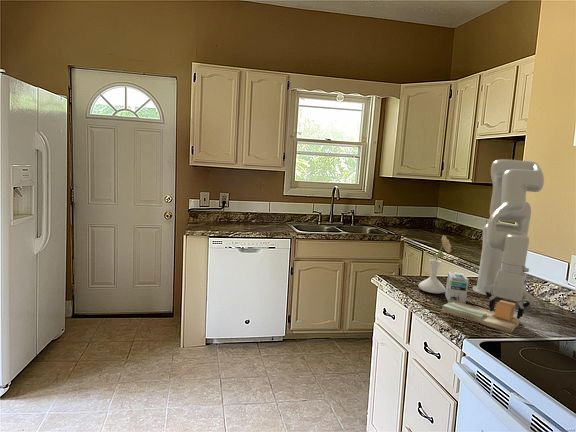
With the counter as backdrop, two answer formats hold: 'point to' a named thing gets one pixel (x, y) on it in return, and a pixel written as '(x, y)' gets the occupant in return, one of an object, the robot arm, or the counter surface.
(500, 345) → the counter surface
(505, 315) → the stub
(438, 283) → the flower in vase
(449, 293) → the light bulb box
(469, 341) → the counter surface
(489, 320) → the board
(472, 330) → the counter surface
